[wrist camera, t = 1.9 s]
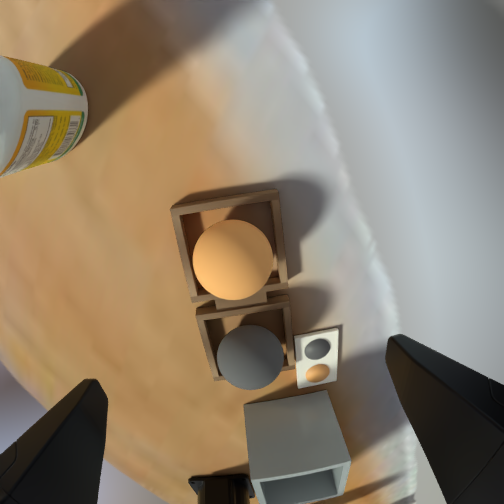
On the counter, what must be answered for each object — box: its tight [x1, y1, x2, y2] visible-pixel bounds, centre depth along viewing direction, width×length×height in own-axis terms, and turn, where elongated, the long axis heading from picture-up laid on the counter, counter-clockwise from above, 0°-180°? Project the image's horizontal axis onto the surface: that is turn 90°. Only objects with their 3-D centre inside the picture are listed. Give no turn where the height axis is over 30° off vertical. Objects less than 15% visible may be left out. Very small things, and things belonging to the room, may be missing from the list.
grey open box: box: [244, 390, 351, 504], centre depth 21 cm, size 7×7×7 cm
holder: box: [170, 189, 295, 381], centre depth 19 cm, size 12×6×1 cm, turn 8°
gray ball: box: [217, 325, 284, 390], centre depth 19 cm, size 4×4×4 cm
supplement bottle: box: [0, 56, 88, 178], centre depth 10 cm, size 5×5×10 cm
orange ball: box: [193, 220, 273, 300], centre depth 16 cm, size 4×4×4 cm
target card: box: [294, 328, 338, 389], centre depth 22 cm, size 5×3×1 cm, turn 8°
